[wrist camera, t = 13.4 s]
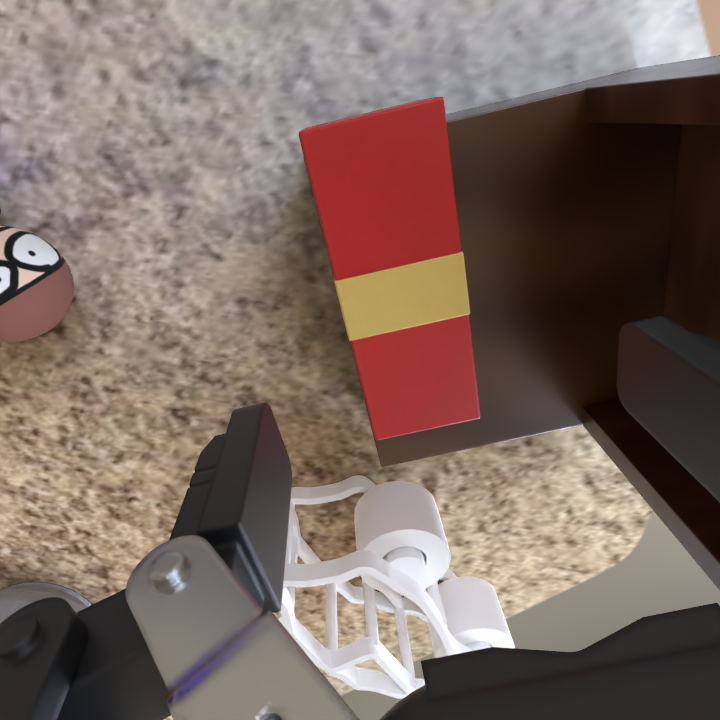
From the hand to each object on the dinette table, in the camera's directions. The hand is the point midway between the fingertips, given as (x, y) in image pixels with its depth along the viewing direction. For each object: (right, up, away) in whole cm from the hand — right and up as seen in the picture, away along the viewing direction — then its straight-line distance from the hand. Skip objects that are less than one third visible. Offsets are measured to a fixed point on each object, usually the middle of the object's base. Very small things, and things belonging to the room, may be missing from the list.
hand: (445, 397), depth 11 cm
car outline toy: (+1, -14, +26) cm, 29 cm away
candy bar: (-1, +5, +10) cm, 11 cm away
